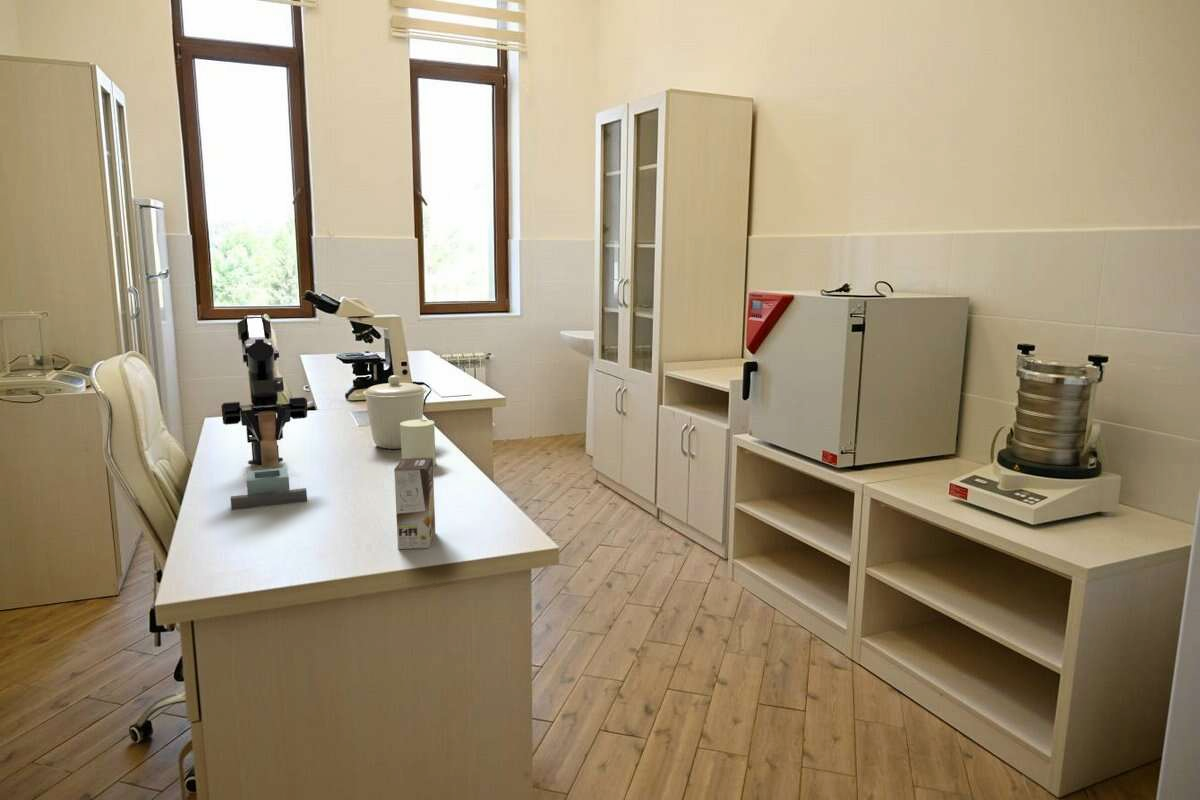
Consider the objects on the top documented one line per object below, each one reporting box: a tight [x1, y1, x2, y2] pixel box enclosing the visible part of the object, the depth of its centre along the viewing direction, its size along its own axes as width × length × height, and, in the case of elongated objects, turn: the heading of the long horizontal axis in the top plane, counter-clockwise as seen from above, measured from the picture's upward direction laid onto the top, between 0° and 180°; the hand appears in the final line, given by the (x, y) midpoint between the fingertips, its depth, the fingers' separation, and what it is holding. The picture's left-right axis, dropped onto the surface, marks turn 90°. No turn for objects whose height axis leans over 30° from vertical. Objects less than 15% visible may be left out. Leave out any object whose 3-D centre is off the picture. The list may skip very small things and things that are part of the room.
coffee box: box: [393, 458, 436, 550], centre depth 158 cm, size 9×6×16 cm
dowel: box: [258, 411, 280, 469], centre depth 188 cm, size 4×4×13 cm
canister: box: [362, 374, 427, 450], centre depth 236 cm, size 18×18×21 cm
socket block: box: [246, 467, 291, 495], centre depth 189 cm, size 9×9×5 cm
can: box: [400, 418, 437, 467], centre depth 215 cm, size 9×9×12 cm
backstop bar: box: [230, 487, 308, 510], centre depth 182 cm, size 2×16×2 cm, turn 114°
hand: (268, 440), depth 186 cm, fingers closed on dowel, 4 cm apart
